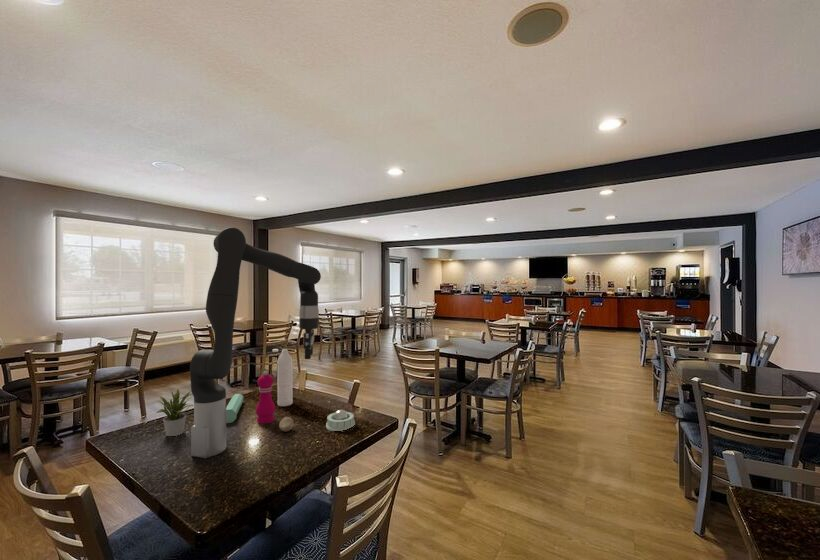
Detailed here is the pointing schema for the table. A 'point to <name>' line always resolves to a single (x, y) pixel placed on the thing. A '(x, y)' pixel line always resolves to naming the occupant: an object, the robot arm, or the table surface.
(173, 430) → the house plant
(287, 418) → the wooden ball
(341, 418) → the steel ball
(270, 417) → the pepper mill
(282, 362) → the water bottle
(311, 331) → the robot arm
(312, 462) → the table surface
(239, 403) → the mint green faceted rod
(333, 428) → the ring cup
